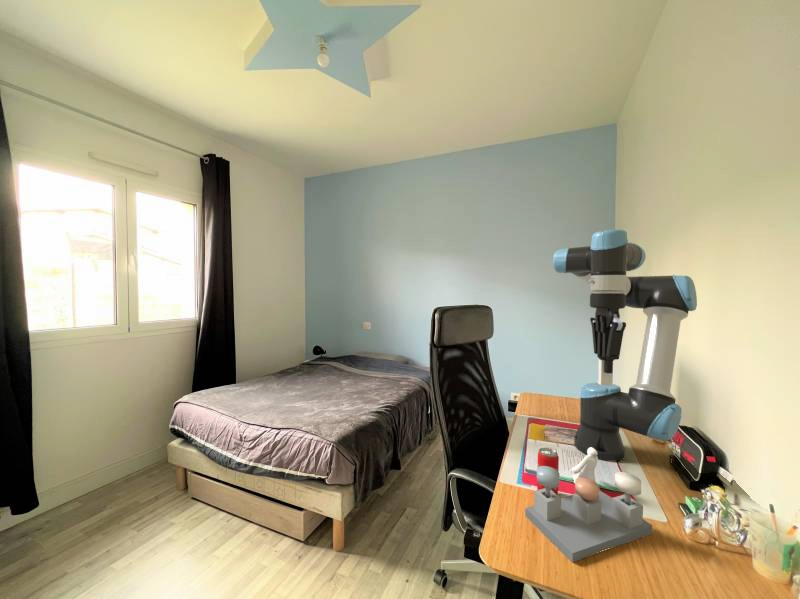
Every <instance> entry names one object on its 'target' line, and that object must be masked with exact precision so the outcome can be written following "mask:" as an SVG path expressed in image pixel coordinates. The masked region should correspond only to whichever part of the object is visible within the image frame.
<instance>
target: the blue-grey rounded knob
mask: <svg viewBox="0 0 800 599" xmlns="http://www.w3.org/2000/svg"><path fill="white" fill-rule="evenodd" d="M536 481H538V482H539V483H540V484H541V485H543V486H545V497H546V498H550V488H556V487H558V488H559V486H560V472H559V470H558V471H557V470H555V469H554V468H551V467H548V466H539V467H538V466H537V468H536Z"/></svg>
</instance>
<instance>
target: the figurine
mask: <svg viewBox="0 0 800 599" xmlns="http://www.w3.org/2000/svg"><path fill="white" fill-rule="evenodd" d="M587 454H588V455H585V457H583V458H582V460H581V461H580V462H579V463H578V464H577V465H575V466H573V467H572V468H571V469H570V472H573V473H575V474H572V475H571V476H572V477H571V479H572V478H573V479H572V480H573V483H574V484H575V480H576V478H580V477H582V478H588V479H591V480H593V481H595V482H596V483H597V481H596V475H595V469H596V467H597V465H598V461H599V459H598V457H597V454H598V453H597V451H596V450H595V449H594V448H592V447H590V448H588V450H587Z"/></svg>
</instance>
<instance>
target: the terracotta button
mask: <svg viewBox="0 0 800 599" xmlns="http://www.w3.org/2000/svg"><path fill="white" fill-rule="evenodd" d="M595 481H596V480H595ZM595 481H593V480H591V479H588V478H582V477H580V478H576V480H575V483H574V484H575V485H574V492H575V494H576V493H577V494H578V495H579V496H580V497H582V498H584V500H585V501H587V502H589V501H590V500H591V501H595V500H598V499H599V490H600V485H599V484H598V483H597V481H596V482H595Z"/></svg>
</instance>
